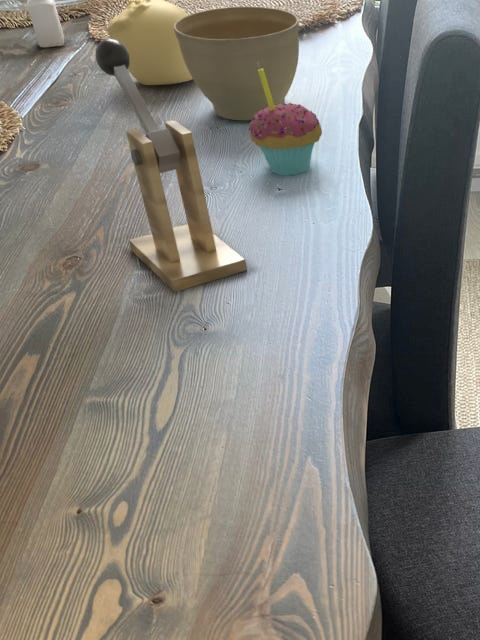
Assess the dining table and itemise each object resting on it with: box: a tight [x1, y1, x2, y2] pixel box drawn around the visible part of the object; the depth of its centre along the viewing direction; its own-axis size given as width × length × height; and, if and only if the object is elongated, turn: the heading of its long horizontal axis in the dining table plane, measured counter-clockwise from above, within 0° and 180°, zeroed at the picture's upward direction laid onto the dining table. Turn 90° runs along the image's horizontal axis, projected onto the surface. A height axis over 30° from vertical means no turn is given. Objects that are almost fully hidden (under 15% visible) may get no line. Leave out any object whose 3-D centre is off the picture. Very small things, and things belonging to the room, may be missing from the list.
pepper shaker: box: [26, 0, 65, 49], centre depth 161 cm, size 4×4×10 cm
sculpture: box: [107, 0, 193, 86], centre depth 146 cm, size 12×12×11 cm
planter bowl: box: [174, 6, 300, 122], centre depth 135 cm, size 16×16×11 cm
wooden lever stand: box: [125, 119, 248, 293], centre depth 101 cm, size 12×8×13 cm, turn 35°
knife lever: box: [94, 38, 180, 174], centre depth 99 cm, size 14×3×3 cm
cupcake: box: [248, 62, 323, 176], centre depth 120 cm, size 9×8×12 cm
